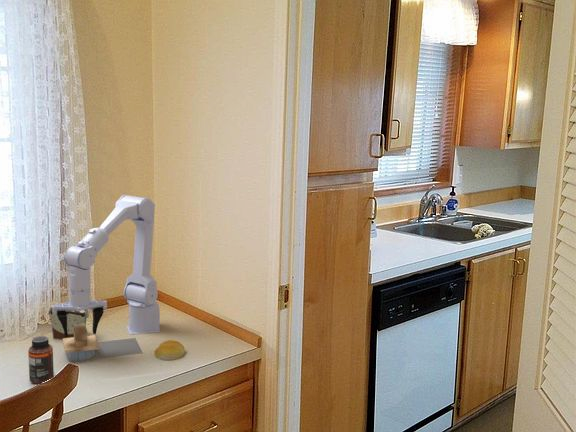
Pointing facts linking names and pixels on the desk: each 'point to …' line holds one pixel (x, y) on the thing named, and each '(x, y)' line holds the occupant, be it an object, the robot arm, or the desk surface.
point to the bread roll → (170, 350)
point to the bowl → (80, 355)
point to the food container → (72, 319)
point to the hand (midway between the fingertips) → (80, 334)
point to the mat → (118, 348)
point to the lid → (80, 340)
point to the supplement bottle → (40, 360)
